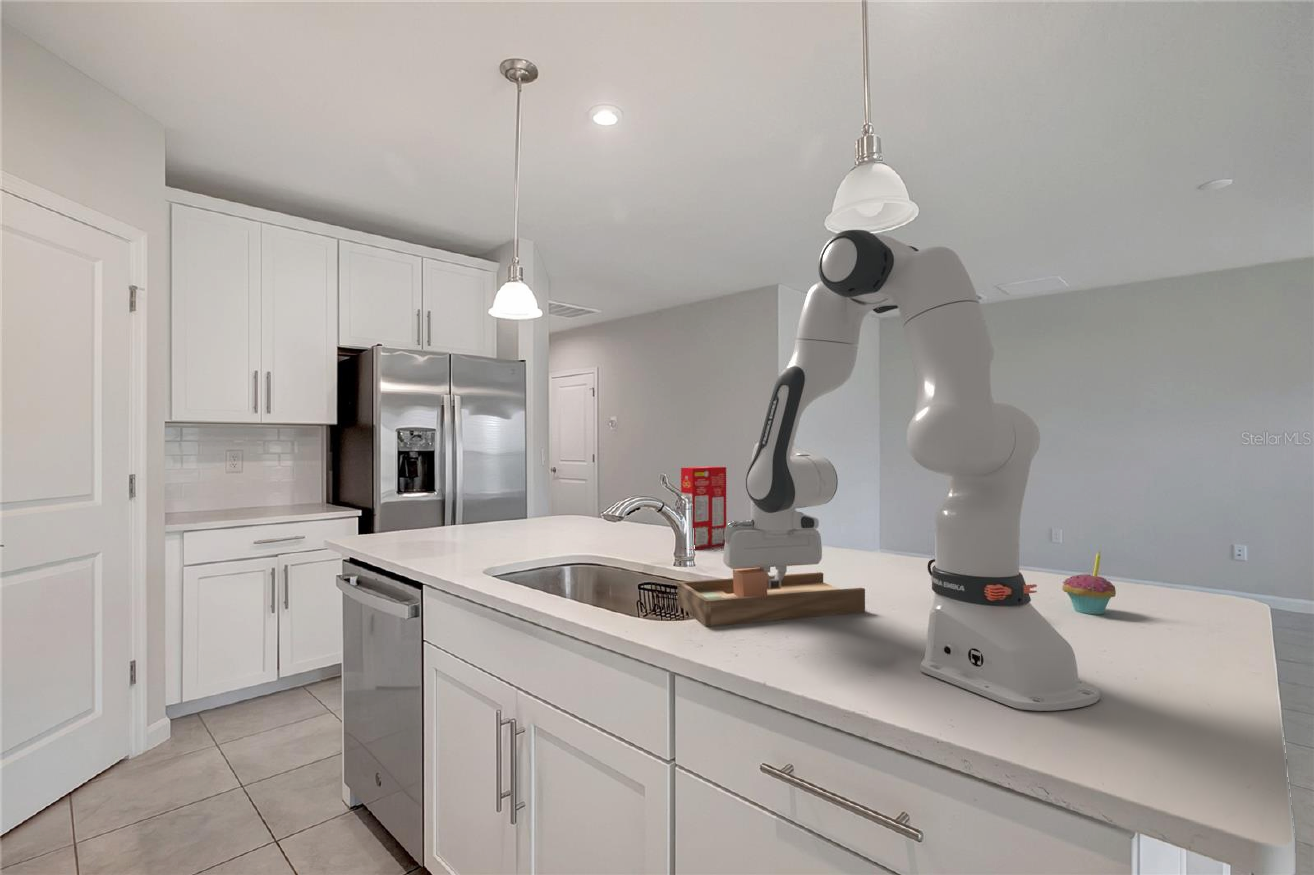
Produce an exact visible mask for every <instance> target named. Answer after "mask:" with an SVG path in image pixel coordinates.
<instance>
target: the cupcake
mask: <svg viewBox="0 0 1314 875" xmlns="http://www.w3.org/2000/svg"><path fill="white" fill-rule="evenodd" d="M1101 550H1102V549H1099V551H1098V553H1096V556H1095V563H1094V569H1093V574H1089V573H1088V574H1085V573H1083V574H1078V575H1072V576H1069V577H1068V578H1066V579H1065V580H1064V581H1062V584H1063V585H1062V589H1061V590H1062V591H1063V592H1065V593H1067V596H1069V599H1070V600H1071V603H1072V607H1073V610H1074V611H1076V612H1078V613H1081V614H1087V615H1097V616H1098V615H1103V614H1104V613H1105V611H1106V608H1107V606H1108V603H1109V602H1110V600H1111V598H1114V597H1116V594H1117V591H1116V586H1115V585H1114V584H1112V582H1110V581H1109V580H1107V579H1106V578H1105V577H1102V576H1098V574H1099V568H1100V563H1101V562H1100V561H1101V556H1102V555H1101Z"/></svg>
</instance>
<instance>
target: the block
mask: <svg viewBox="0 0 1314 875" xmlns="http://www.w3.org/2000/svg"><path fill="white" fill-rule="evenodd" d="M732 578H733V588H734V594H735V595H736V596H738V597H747V596H760V595H767V572H766V571H764V570H762V569H760V568H745V569H732Z"/></svg>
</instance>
